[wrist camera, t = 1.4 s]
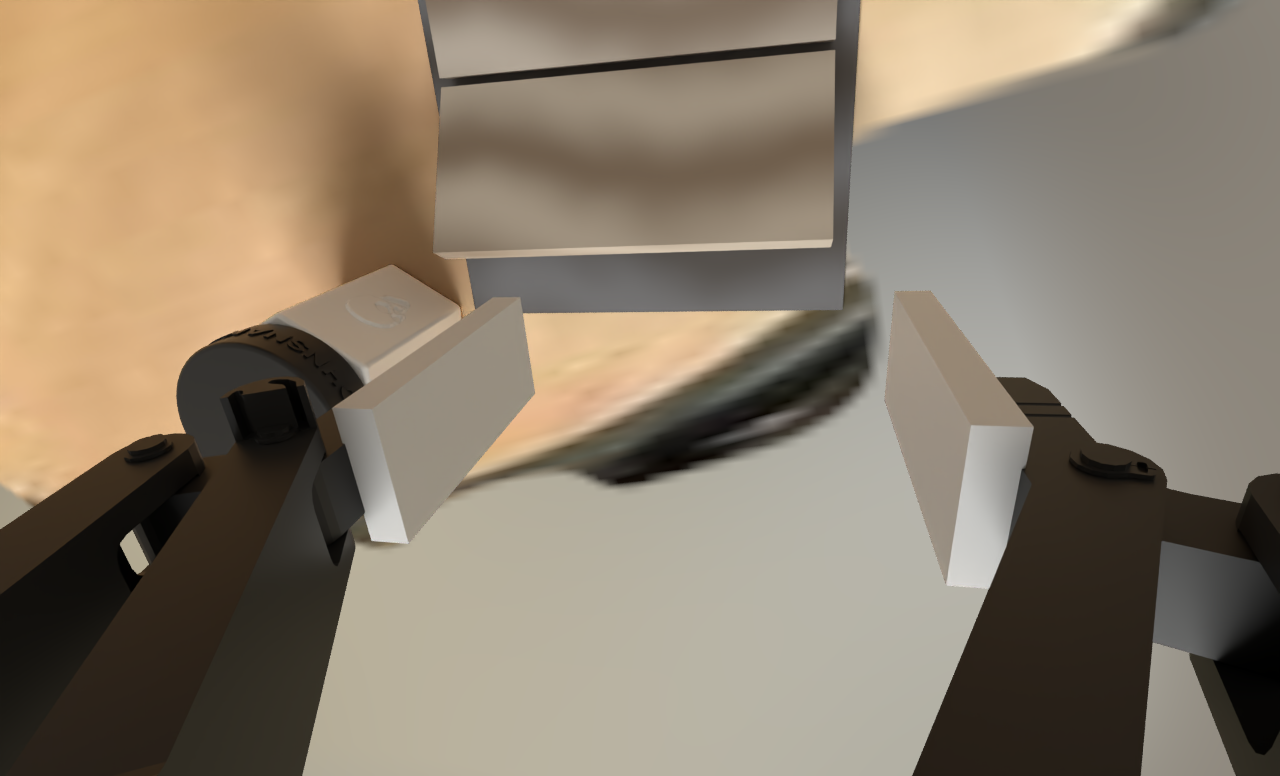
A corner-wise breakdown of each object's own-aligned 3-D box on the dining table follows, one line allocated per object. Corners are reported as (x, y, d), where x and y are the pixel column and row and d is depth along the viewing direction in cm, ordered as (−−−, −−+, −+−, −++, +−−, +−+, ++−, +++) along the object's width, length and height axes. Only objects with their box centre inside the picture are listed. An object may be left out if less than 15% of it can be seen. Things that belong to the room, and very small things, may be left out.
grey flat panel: (381, -205, 27) (362, -220, 26) (877, -309, 23) (882, -333, 21) (477, 312, 36) (467, 320, 35) (842, 308, 32) (844, 316, 31)
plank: (453, 99, 31) (441, 87, 30) (832, 65, 27) (835, 49, 26) (445, 259, 31) (432, 252, 30) (830, 247, 27) (833, 239, 26)
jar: (496, 323, 36) (376, 417, 26) (446, 424, 40) (323, 543, 29) (360, 238, 36) (181, 298, 25) (322, 349, 40) (152, 442, 29)
